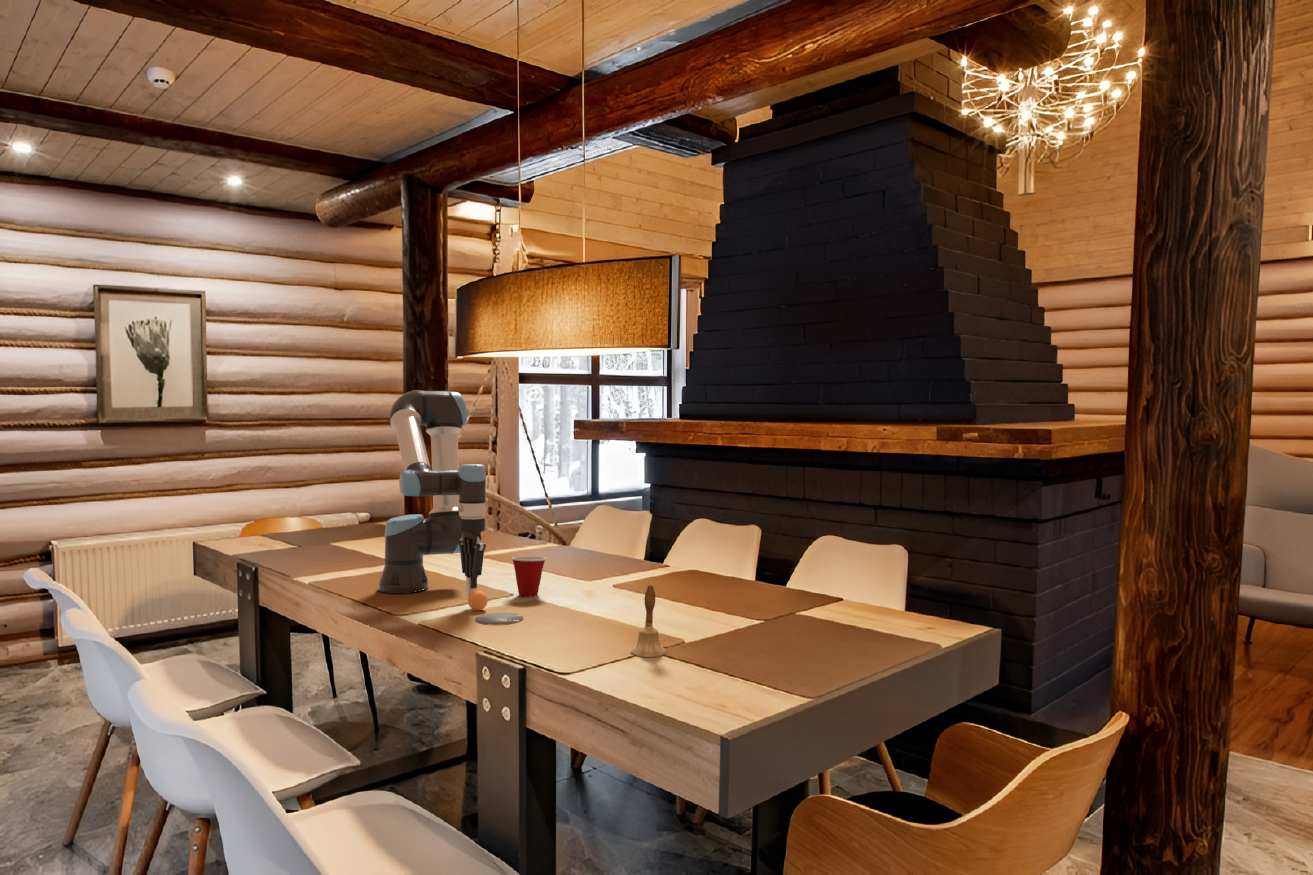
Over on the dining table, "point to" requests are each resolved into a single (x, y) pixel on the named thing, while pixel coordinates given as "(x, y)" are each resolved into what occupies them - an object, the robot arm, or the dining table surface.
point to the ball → (477, 600)
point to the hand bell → (648, 631)
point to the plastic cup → (528, 574)
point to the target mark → (498, 618)
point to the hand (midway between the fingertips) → (471, 599)
